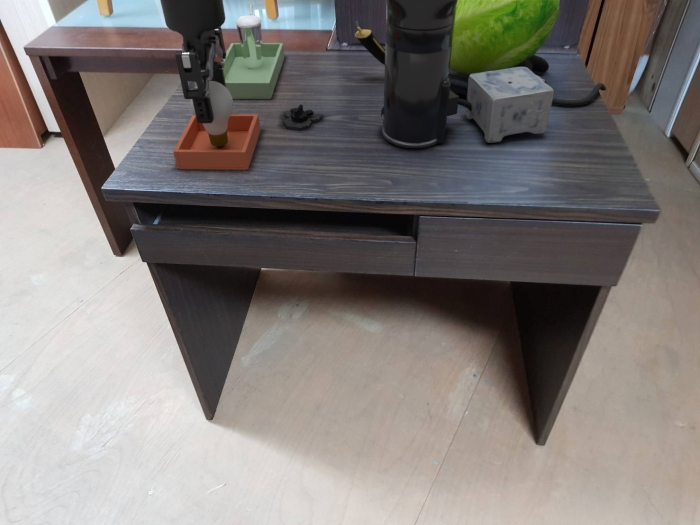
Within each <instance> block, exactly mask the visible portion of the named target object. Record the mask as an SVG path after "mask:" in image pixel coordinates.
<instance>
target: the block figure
mask: <svg viewBox="0 0 700 525" xmlns="http://www.w3.org/2000/svg"><path fill="white" fill-rule="evenodd" d="M314 112H315V111H313V109H306V110H304V105H303V104H299V105H298V106H297V107H293V108H291V109H289V110H287V111H286V112H285V113H284V114H283V117H284V118H285V119H284V120H283V122H282V125H283V126H284V127H285V129H290V130H295V131H296V130H297V131H302V130H306V129H309V128H310V127H311V126H312V124H313V123H316V122H318V123H319V122H320V121H321V119H322V114H320V113H317V112H315V113H314Z"/></svg>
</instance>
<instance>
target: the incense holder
mask: <svg viewBox="0 0 700 525" xmlns="http://www.w3.org/2000/svg"><path fill="white" fill-rule="evenodd" d="M541 77H542V76H541ZM541 77H539V76H537V75H535V74H534V73H533V72H532V71H530V70H529V69H528V68H527V67H515V68H508V69H503V70H496V71H488V72H482V73H476V74H471V75H468V78H467V79H468V93H467V95H466V101H468V102H469V103H471V105H472V110H471V112H470V111H469V109H468V108H466V114H465V117H466V119H467V120H474V121H475V123H476V124H477V125H478V127H479V128H480V129H481V130H482V132H483V133H484V141H485V142H486V143H493V144H494V143H500V142H501V141H502V140H503V138H504V137H506V136H511V135H516V134H523V133H531V134H534V135H538V134H544V133H546V132H547V130H548V126H549V119H550V115H551V108H552V105H553V104H552V100H553V98H554V94H555V91H554V88H553V87H552V86H550V85H549V84H546V83H544V82H545V81H546V80H545V78H543V77H542V78H541Z"/></svg>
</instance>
